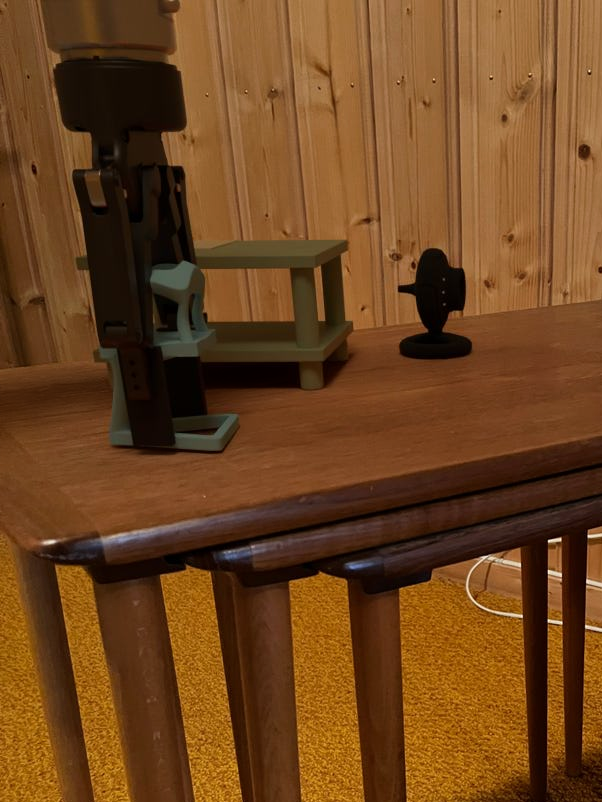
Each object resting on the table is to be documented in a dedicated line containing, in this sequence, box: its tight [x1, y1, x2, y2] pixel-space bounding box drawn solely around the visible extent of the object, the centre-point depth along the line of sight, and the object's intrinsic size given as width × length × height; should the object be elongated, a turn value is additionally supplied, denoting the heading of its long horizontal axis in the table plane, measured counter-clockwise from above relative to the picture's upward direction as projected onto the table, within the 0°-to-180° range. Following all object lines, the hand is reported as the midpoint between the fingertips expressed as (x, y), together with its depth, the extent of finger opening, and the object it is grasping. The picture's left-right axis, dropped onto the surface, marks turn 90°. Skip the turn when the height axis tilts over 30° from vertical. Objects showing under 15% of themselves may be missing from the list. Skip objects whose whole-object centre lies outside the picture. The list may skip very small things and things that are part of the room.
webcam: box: [397, 247, 473, 360], centre depth 98 cm, size 8×8×10 cm
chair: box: [98, 261, 240, 452], centre depth 68 cm, size 8×8×12 cm
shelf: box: [74, 239, 355, 391], centre depth 89 cm, size 20×16×11 cm
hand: (172, 429), depth 70 cm, fingers closed on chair, 7 cm apart
